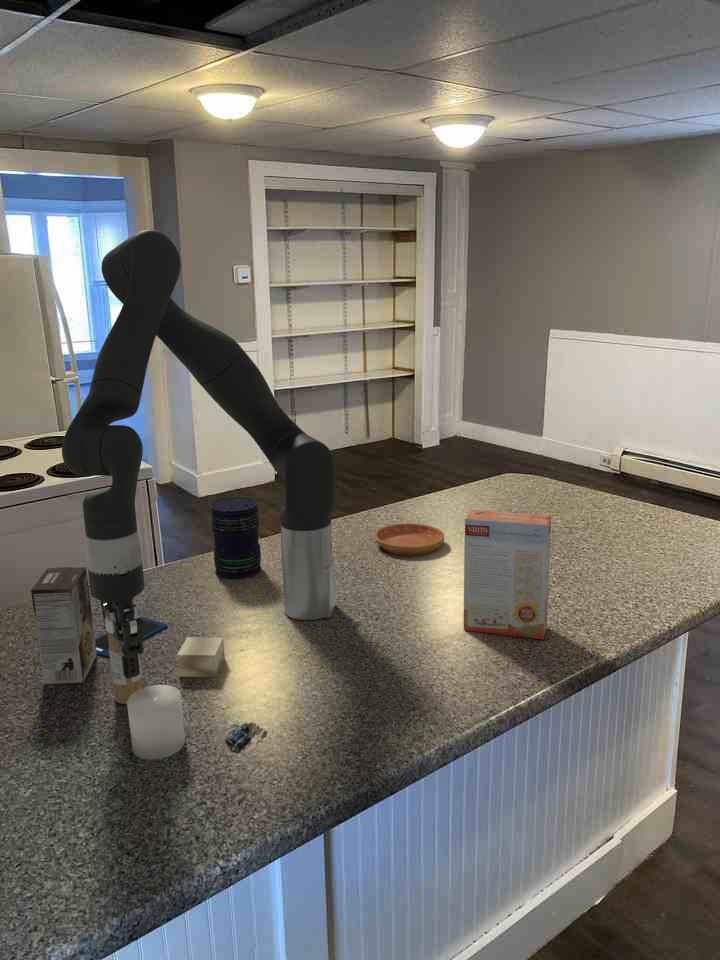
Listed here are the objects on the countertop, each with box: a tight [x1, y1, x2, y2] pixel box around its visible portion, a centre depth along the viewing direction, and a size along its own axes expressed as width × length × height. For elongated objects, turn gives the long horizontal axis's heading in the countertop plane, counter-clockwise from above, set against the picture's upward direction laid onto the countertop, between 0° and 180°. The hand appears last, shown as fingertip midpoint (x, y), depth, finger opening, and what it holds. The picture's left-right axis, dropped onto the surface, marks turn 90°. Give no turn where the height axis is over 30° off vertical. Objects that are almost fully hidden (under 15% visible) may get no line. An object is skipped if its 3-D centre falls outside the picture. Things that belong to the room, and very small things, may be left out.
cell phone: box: [95, 616, 168, 659], centre depth 138 cm, size 7×14×1 cm, turn 148°
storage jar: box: [210, 496, 262, 581], centre depth 165 cm, size 10×10×15 cm
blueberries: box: [219, 722, 268, 753], centre depth 107 cm, size 7×8×2 cm
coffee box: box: [30, 566, 98, 685], centre depth 125 cm, size 9×6×16 cm
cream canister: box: [126, 684, 186, 761], centre depth 106 cm, size 7×7×7 cm
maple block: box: [176, 636, 226, 678], centre depth 126 cm, size 6×6×4 cm
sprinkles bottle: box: [105, 616, 144, 705], centre depth 117 cm, size 5×5×13 cm
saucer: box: [374, 523, 445, 556], centre depth 180 cm, size 16×16×3 cm
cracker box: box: [463, 509, 552, 640], centre depth 135 cm, size 14×6×21 cm, turn 71°
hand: (126, 667), depth 117 cm, fingers open, 5 cm apart
